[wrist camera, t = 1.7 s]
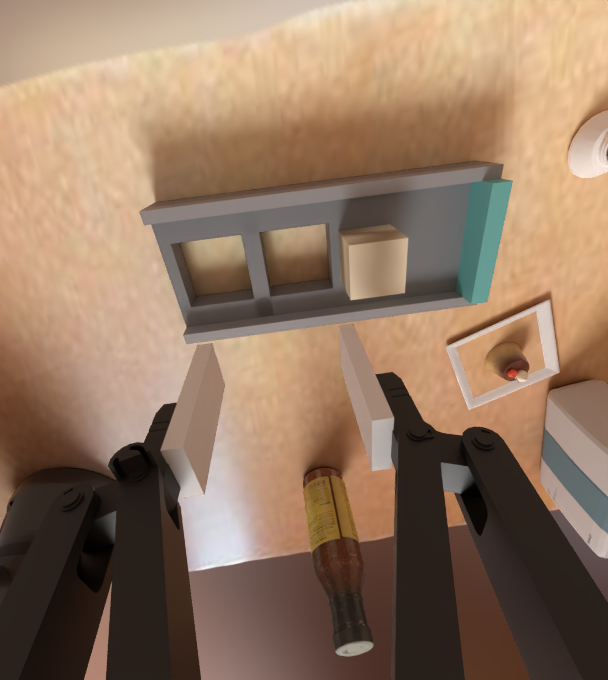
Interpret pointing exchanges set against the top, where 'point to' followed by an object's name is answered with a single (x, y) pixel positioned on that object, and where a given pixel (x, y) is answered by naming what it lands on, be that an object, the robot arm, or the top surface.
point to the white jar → (590, 148)
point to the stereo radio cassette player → (579, 458)
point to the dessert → (510, 358)
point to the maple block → (373, 261)
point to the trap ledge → (338, 214)
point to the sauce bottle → (337, 558)
